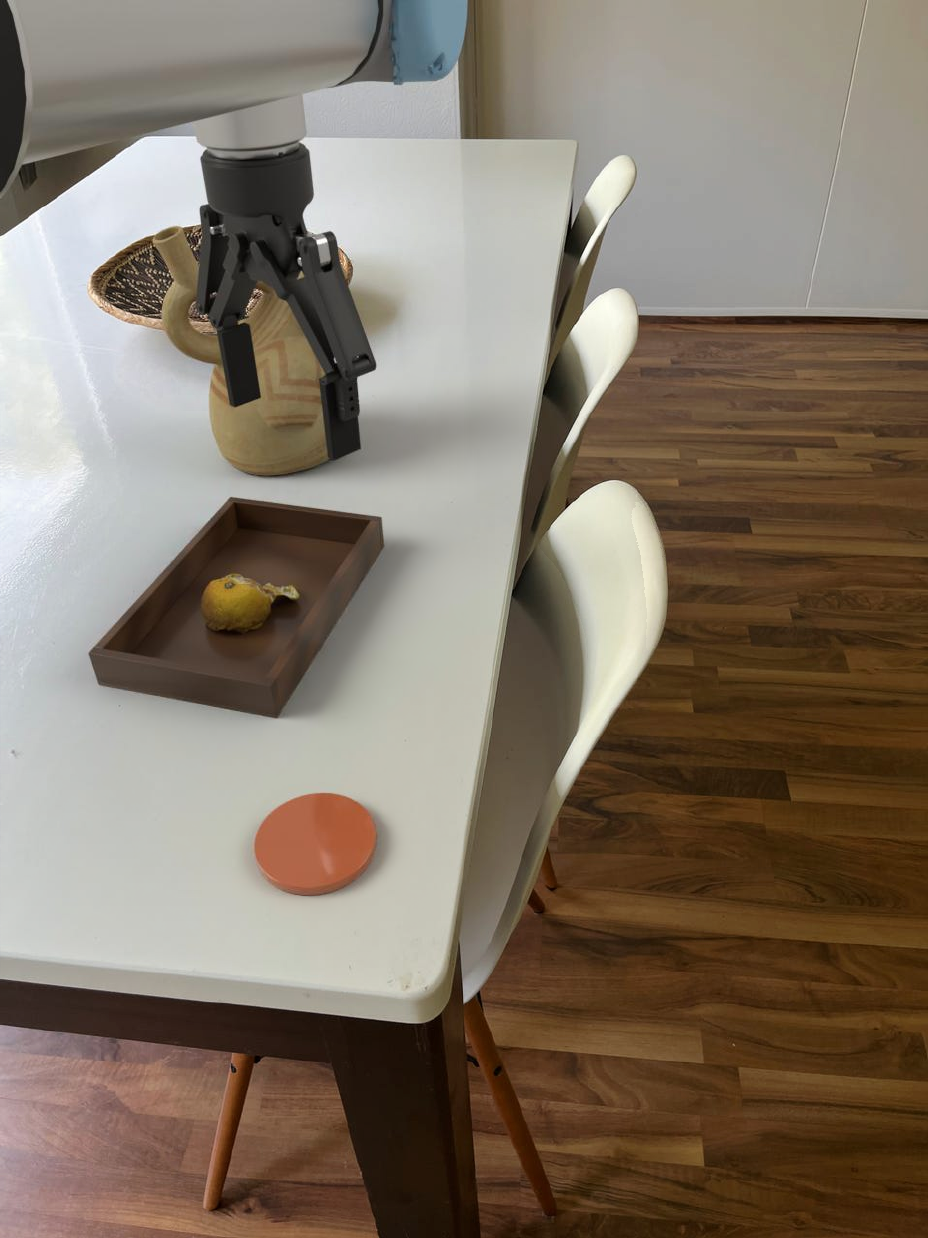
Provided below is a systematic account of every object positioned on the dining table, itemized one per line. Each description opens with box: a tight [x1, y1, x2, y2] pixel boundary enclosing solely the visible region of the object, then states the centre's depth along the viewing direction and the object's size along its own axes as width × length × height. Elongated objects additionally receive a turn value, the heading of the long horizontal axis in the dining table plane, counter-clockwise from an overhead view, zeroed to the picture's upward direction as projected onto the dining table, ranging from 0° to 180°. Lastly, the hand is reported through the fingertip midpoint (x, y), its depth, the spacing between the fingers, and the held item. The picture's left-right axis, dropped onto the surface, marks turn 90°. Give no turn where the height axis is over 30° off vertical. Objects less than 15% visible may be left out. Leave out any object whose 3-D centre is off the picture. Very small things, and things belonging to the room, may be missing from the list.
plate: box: [253, 792, 378, 896], centre depth 65 cm, size 8×8×1 cm
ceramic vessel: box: [151, 225, 347, 476], centre depth 103 cm, size 17×20×25 cm
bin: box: [87, 496, 385, 719], centre depth 86 cm, size 25×16×3 cm, turn 164°
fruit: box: [201, 573, 299, 633], centre depth 85 cm, size 8×8×4 cm
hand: (292, 426), depth 81 cm, fingers open, 13 cm apart
